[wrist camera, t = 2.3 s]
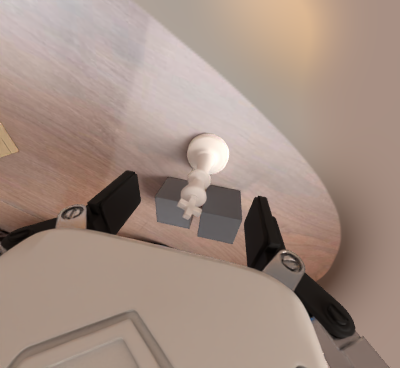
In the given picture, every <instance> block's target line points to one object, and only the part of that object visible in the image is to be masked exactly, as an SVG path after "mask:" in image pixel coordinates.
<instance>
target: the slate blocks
mask: <svg viewBox="0 0 400 368" xmlns="http://www.w3.org/2000/svg"><path fill="white" fill-rule="evenodd" d="M188 184H189V183H188V181H187V180H182V179H177V178H171V177H168V178H167V179H166V181H165V182H164V184H163V185H162V187H161V188H160V190H159V191H158V193H157V194H156V196H155V204H156V214H157V222H161V223H165V224H169V225H174V226H178V227H183V228H187V229H190V225H191V222H192V219H193V214H192V215H191V217H190V218H189V220H187V219H185V218H183V214H184V211H185V210H183V209H181V208H180V207H178V206H177V205H178V202H179V201H180V199H181V191H182V189H183V188H184V187H185V186H187V185H188ZM206 196H207V199H206V202H205V203H204V204H203V207H202V212H201V216H200V223H199V229H198V235H197V236H198V237H203V238H207V239H212V240H216V241H221V242H225V243H229V244H233V242H234V239H235V237H236V234H237V232H238V229H239V227H240V224H241V222H242V210H241V193H240V191H238V190H233V189H228V188H223V187H217V186H212V185H210V186H209V187H208V188H207V190H206Z"/></svg>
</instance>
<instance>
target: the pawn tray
mask: <svg viewBox="0 0 400 368" xmlns="http://www.w3.org/2000/svg"><path fill="white" fill-rule="evenodd" d="M16 152H19V150H18V149H17V147H16V146H15V144H14V142H13V141H12V139H11V138H10V136H9V135H8V133H7V132H6V130H5V128H4V127H3V125H2V124H1V122H0V158H1V157H4V156H7V155H10V154H13V153H16Z"/></svg>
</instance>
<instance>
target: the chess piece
mask: <svg viewBox="0 0 400 368" xmlns="http://www.w3.org/2000/svg"><path fill="white" fill-rule="evenodd" d="M187 158H188V161H189V164H190V165H191V167H192V168H193V169H194V170H192V171H191V172H190V173H189V174H188V183H189V184H188V185H187V186H185V187H184V188H183V189H182V191H181V199H180V201H179V202H178V205H177V206H178V207H180V208H181V209H183V210H185V211H184V214H183V218H185V219H187V220H189V218H190V217H191V215H192V214H193V215H195V216H196V217H199V216H200V215H201V212H202V209H200V208H198V207H199V206H202V205H203V204H204V203H205V202H206V199H207V196H206V191H205V189H207V188H208V187H209V186H210V184H211V177H210V174H215V173H218V172H220V171H221V170H222V169H223V168H224V167H225V166H226V164H227V161H228V158H229V150H228V147H227V145H226V143H225V142H224V141H223V140H222V139H221V138H220V137H218V136H216V135H214V134H201V135H198V136H197V137H195V138H194V139H193V140H192V141H191V142H190V144H189V146H188V150H187Z"/></svg>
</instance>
